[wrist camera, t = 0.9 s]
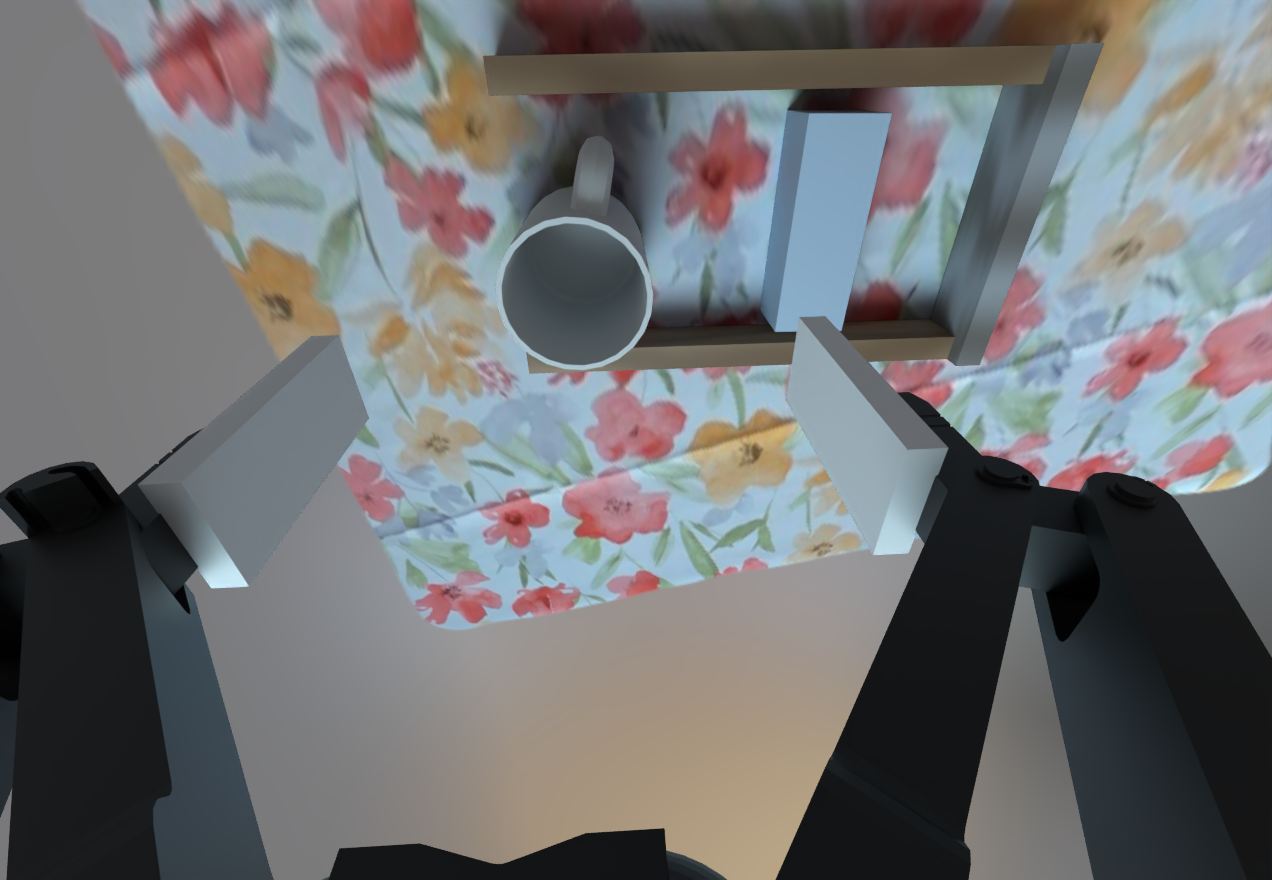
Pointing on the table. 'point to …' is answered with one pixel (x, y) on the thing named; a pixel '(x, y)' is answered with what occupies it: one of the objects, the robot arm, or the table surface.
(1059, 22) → the table surface
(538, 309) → the cup
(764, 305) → the block
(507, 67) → the channel
